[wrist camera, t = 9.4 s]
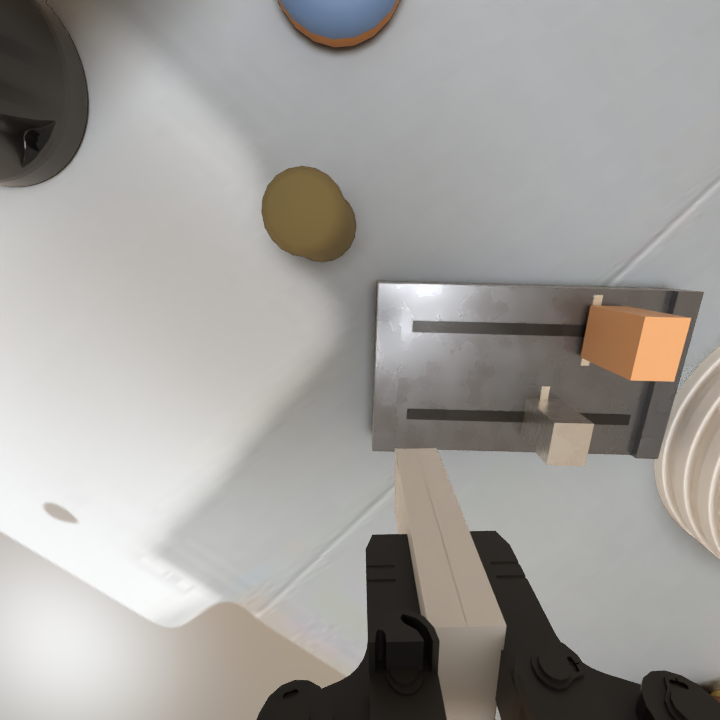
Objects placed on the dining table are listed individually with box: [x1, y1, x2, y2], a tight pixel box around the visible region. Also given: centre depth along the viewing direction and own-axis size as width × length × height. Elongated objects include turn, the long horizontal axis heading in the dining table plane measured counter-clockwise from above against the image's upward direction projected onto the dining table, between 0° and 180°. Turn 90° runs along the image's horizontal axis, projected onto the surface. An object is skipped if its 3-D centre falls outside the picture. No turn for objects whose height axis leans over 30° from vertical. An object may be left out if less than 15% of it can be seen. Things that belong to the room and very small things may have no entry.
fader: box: [581, 305, 691, 382], centre depth 27 cm, size 4×3×6 cm
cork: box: [262, 166, 356, 262], centre depth 26 cm, size 6×6×11 cm
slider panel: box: [372, 281, 704, 466], centre depth 31 cm, size 15×26×8 cm, turn 89°
